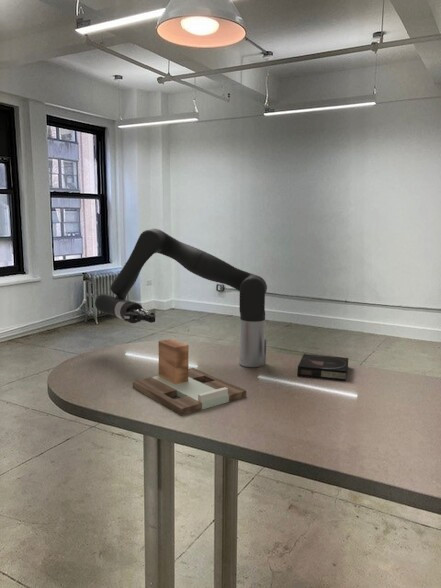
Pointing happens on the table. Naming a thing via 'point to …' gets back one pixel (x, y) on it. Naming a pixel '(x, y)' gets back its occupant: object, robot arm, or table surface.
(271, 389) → the table surface
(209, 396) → the lane board
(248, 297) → the robot arm
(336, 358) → the portable cd player
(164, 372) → the block
